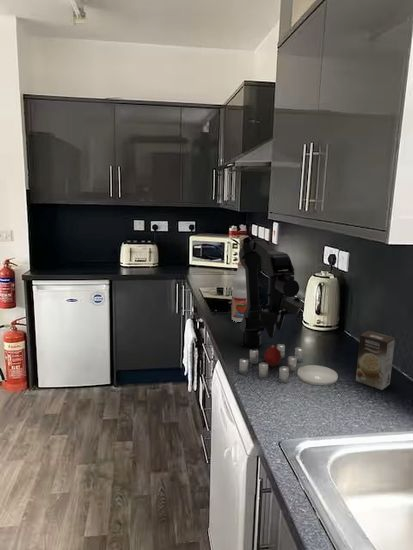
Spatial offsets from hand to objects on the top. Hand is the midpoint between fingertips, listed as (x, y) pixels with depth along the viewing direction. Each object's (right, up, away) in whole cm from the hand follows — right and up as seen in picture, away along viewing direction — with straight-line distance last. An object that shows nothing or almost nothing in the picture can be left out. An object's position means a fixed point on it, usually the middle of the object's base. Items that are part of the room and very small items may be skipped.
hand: (275, 333), depth 146 cm
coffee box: (+30, -15, -10) cm, 35 cm away
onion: (-1, -12, +2) cm, 12 cm away
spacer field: (-1, -12, +2) cm, 12 cm away
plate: (+13, -14, -6) cm, 20 cm away
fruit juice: (-7, -1, +54) cm, 55 cm away
